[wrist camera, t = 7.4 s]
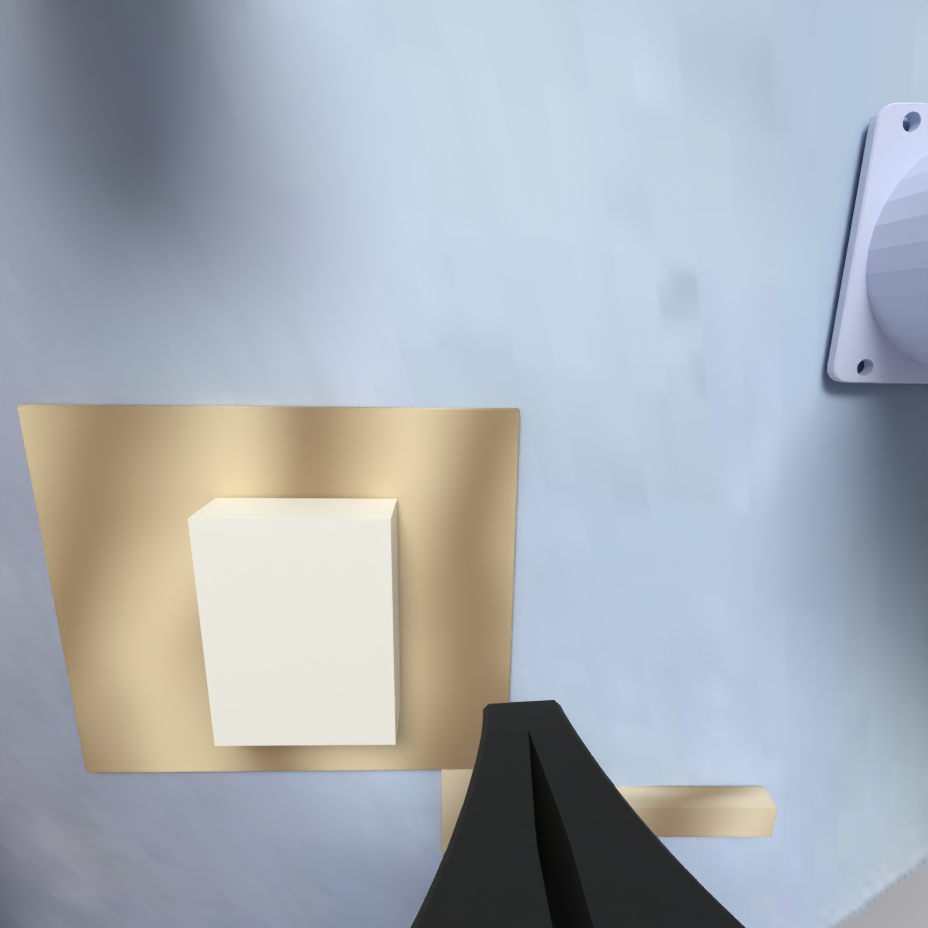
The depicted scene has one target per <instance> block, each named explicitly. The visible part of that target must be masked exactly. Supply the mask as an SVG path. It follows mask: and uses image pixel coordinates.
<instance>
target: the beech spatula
mask: <svg viewBox="0 0 928 928" xmlns="http://www.w3.org/2000/svg"><path fill="white" fill-rule="evenodd" d="M472 772H473V769H451V770H442V828H441V853H445V852H446V849H447V847H448V844H449V841H450V839H451V836H452V833H453V830H454V828H455V825H456V822H457V819H458V817H459V814H460V811H461V808H462V806H463V803H464V800H465V796H466V793H467V790H468V786H469V783H470V779H471V776H472ZM615 787H616V788H617V789H618V791H619V792H620V793H621V795H622V796H623V797H624V798H625V800H626V801H627V802H628V803H629V805H630V806H631V807H632V808H633V810H634V811H635V812H636V813H637V814H638V816H639V817H640V818H641V819H642V820H643V821H644V823H645V824H646V825H647V826H648V827H649V829H650V830H651V831H652V832H653V833H654V834H655V836H656V837H772V834H773V828H774V823H775V818H776V813H777V807H776V805H775V804H774V802H773V800H772V799H771V797H770V796H769V794H768V793H767V791H766V790H765V788H764V787H678V786H615Z"/></svg>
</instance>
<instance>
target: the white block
mask: <svg viewBox="0 0 928 928" xmlns="http://www.w3.org/2000/svg"><path fill="white" fill-rule="evenodd" d="M188 525H189V534H190V542H191V551H192V559H193V568H194V576H195V584H196V593H197V601H198V610H199V618H200V627H201V635H202V644H203V652H204V661H205V669H206V678H207V686H208V694H209V703H210V711H211V720H212V728H213V737H214V745H215V746H277V745H396V738H397V730H398V723H399V715H400V707H401V686H400V633H399V580H398V527H397V499H348V498H215V499H214V500H212V501H211V502H209V503H208V504H207V505H205V506H204V507H203V508H201V509H200V510H199V511H197V512H196V513H195V514H193V515H192V516H191V517H189V518H188Z"/></svg>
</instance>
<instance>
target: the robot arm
mask: <svg viewBox="0 0 928 928" xmlns="http://www.w3.org/2000/svg"><path fill="white" fill-rule="evenodd" d="M904 117H906V118H907V119H908V120H909V123H910V127H909V130H908V131H905V129H904V128H903V119H904ZM862 360H863V362H864V369H863V371H862V372H861V373H858V372H857V366H858V364H859V363H860V362H861V361H862ZM827 373H828V375H829V377H830V378H831V379H832V380H834V381H838V382H843V383H909V384H928V103H900V102H897V103H892V104H889V105H887V106H885V107H883V108H881V109H880V110H878V111H877V112H876V113H875V114H874V115H873V116H872V118H871V120H870V123H869V127H868V133H867V139H866V144H865V150H864V156H863V162H862V168H861V173H860V179H859V185H858V191H857V197H856V202H855V208H854V214H853V220H852V226H851V231H850V237H849V243H848V249H847V255H846V260H845V266H844V272H843V278H842V284H841V289H840V295H839V301H838V307H837V313H836V318H835V324H834V330H833V336H832V342H831V347H830V353H829V359H828V365H827ZM411 928H745V927H744V926H743V925H742V924H741V923H740V922H739V921H738V920H737V919H736V918H735V917H734V916H733V915H732V914H731V913H730V912H729V911H727V910H726V909H725V908H724V907H723V906H722V905H721V904H720V903H719V902H718V901H717V900H716V899H715V898H714V897H713V896H712V895H711V894H710V893H709V892H708V891H707V890H706V889H705V888H704V887H703V886H702V885H701V884H700V883H699V882H698V881H697V880H696V879H695V878H694V877H693V876H692V875H691V874H690V873H689V872H688V871H687V870H686V868H685V867H684V866H683V865H682V864H681V863H680V862H679V861H678V860H677V859H676V858H675V857H674V856H673V855H672V853H671V852H670V851H669V850H668V849H667V848H666V847H665V846H664V845H663V843H662V842H661V841H660V840H659V839H658V838H657V837H656V836H655V834H654V833H653V832H652V831H651V830H650V829H649V827H648V826H647V825H646V824H645V823H644V821H643V820H642V819H641V818H640V817H639V816H638V814H637V813H636V812H635V811H634V810H633V808H632V807H631V806H630V805H629V803H628V802H627V801H626V800H625V798H624V797H623V796H622V795H621V793H620V792H619V791H618V789H617V788H616V787H615V786H614V784H613V783H612V782H611V780H610V779H609V778H608V776H607V775H606V774H605V772H604V771H603V770H602V768H601V767H600V766H599V764H598V763H597V762H596V760H595V759H594V757H593V756H592V755H591V753H590V752H589V750H588V749H587V747H586V746H585V744H584V743H583V742H582V740H581V739H580V737H579V736H578V734H577V733H576V731H575V729H574V728H573V726H572V725H571V723H570V722H569V720H568V718H567V717H566V715H565V713H564V711H563V710H562V708H561V706H560V705H559V704H558V703H557V702H556V701H555V700H546V701H529V702H511V703H493V704H488V705H487V706H486V707H485V708H484V709H483V723H482V732H481V738H480V743H479V748H478V752H477V757H476V761H475V765H474V769H473V772H472V776H471V779H470V783H469V786H468V790H467V793H466V796H465V800H464V803H463V806H462V808H461V811H460V814H459V817H458V819H457V822H456V825H455V828H454V830H453V833H452V836H451V839H450V841H449V844H448V847H447V849H446V852H445V854H444V857H443V859H442V861H441V864H440V866H439V869H438V871H437V873H436V876H435V878H434V880H433V882H432V884H431V887H430V889H429V891H428V893H427V895H426V898H425V900H424V902H423V904H422V906H421V908H420V910H419V912H418V914H417V916H416V918H415V920H414V922H413V924H412V926H411Z"/></svg>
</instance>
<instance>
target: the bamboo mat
mask: <svg viewBox="0 0 928 928" xmlns="http://www.w3.org/2000/svg"><path fill="white" fill-rule="evenodd" d="M17 408H18V413H19V418H20V424H21V429H22V434H23V439H24V445H25V450H26V455H27V461H28V466H29V471H30V477H31V482H32V487H33V492H34V498H35V503H36V508H37V514H38V519H39V524H40V529H41V535H42V540H43V545H44V551H45V556H46V561H47V566H48V572H49V577H50V582H51V588H52V593H53V598H54V604H55V609H56V614H57V619H58V625H59V630H60V635H61V641H62V646H63V651H64V656H65V662H66V667H67V672H68V678H69V683H70V688H71V694H72V699H73V704H74V709H75V715H76V720H77V725H78V731H79V736H80V741H81V746H82V752H83V757H84V762H85V768H86V773H92V772H212V771H331V770H451V769H474V765H475V761H476V757H477V752H478V748H479V743H480V738H481V732H482V723H483V709H484V708H485V707H486V706H487V705H488V704H493V703H509V686H510V659H511V632H512V605H513V578H514V551H515V524H516V498H517V471H518V444H519V417H520V410H519V409H518V408H412V407H294V406H176V405H59V404H25V405H20V406H17ZM215 498H348V499H397V527H398V580H399V633H400V686H401V707H400V715H399V723H398V730H397V738H396V745H277V746H215V745H214V737H213V728H212V720H211V711H210V703H209V694H208V686H207V678H206V669H205V661H204V652H203V644H202V635H201V627H200V618H199V610H198V601H197V593H196V584H195V576H194V568H193V559H192V551H191V542H190V534H189V525H188V518H189V517H191V516H192V515H193V514H195V513H196V512H197V511H199V510H200V509H201V508H203V507H204V506H205V505H207V504H208V503H209V502H211V501H212V500H214V499H215Z"/></svg>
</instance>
